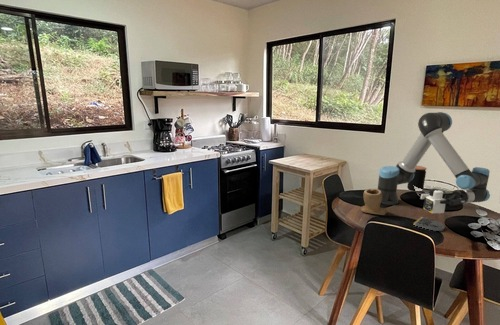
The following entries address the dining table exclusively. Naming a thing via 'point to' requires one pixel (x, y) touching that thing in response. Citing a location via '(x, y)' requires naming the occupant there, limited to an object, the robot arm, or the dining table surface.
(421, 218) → the d plate
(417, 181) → the coffee jar
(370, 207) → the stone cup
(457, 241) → the dining table surface
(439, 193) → the medicine bottle
